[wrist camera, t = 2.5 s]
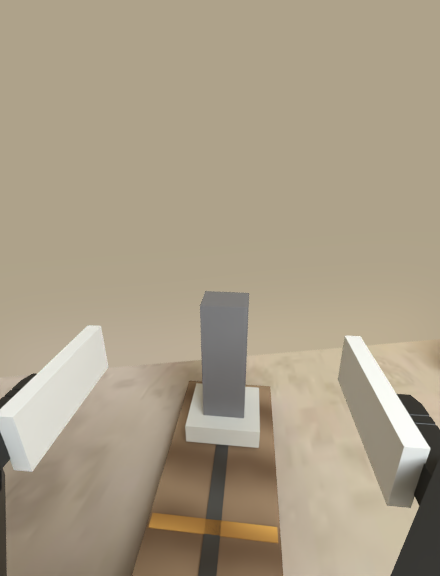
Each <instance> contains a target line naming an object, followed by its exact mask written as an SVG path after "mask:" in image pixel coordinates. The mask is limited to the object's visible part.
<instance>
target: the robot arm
mask: <svg viewBox="0 0 440 576" xmlns="http://www.w3.org/2000/svg"><path fill="white" fill-rule="evenodd" d="M107 368H108V362H107V357H106V352H105V346H104V340H103V336H102V330H101V326H89V325H88V326H87V327H86V328H85V329H84V330H83V331H82V332H80V333H79V334H78V335H77V336H76V338H74V339H73V340H72V341H71V342H70V343H69V344H68V345H67V346H66V347H65V348H64V349H63V350H62V351H61V352H60V353H58V354H57V356H55V357H54V358H53V359H52V360H51V361H50V362H49V363H48V364H47V365H46V366H45V367H44V368H43V369H42V370H41V371H40V372H39V373H38V374H31V375H30V376H28V377H26V378H24V379H23V380H21V381H20V382H19V383H18V384H17V385H16V386H15V387H13V388H12V390H10V391H9V392H8V393H7V394H6V395H5V397H3V398H1V399H0V576H7V574H6V512H5V473H4V470H3V467H4V466H5V464H6V463H7V462H8V461H9V460H10V461H11V463H12V466H13V469H14V470H19V471H29V472H32V471H33V470H34V469H35V467H36V466H37V465H38V463H39V462H40V460H41V459H42V458H43V456H44V455H45V454H46V452H47V451H48V449H49V448H50V447H51V445H52V444H53V443H54V441H55V440H56V438H57V437H58V436H59V434H60V433H61V432H62V430H63V429H64V427H65V426H66V425H67V423H68V422H69V421H70V419H71V418H72V416H73V415H74V414H75V412H76V411H77V410H78V408H79V407H80V405H81V404H82V403H83V401H84V400H85V399H86V397H87V396H88V394H89V393H90V392H91V390H92V389H93V388H94V386H95V385H96V383H97V382H98V381H99V379H100V378H101V377H102V375H103V374H104V372H105V371H106V370H107ZM338 381H339V384H340V386H341V389H342V391H343V394H344V396H345V399H346V402H347V404H348V407H349V409H350V412H351V414H352V417H353V420H354V422H355V425H356V427H357V430H358V432H359V435H360V437H361V440H362V443H363V445H364V448H365V450H366V453H367V455H368V458H369V460H370V463H371V466H372V468H373V471H374V473H375V476H376V478H377V481H378V484H379V486H380V489H381V491H382V494H383V496H384V499H385V501H386V504H387V506H397V507H408V508H411V505H412V502H413V499H414V497H415V498H416V500H417V502H418V504H419V509H418V511H417V513H416V516H415V518H414V521H413V523H412V525H411V528H410V530H409V533H408V535H407V538H406V540H405V542H404V545H403V547H402V550H401V552H400V554H399V557H398V559H397V562H396V564H395V566H394V569H393V571H392V574H391V576H440V429H439V428H438V427H437V426H436V425H435V422H434V421H433V419H432V418H431V417H429V414H428V412H427V411H426V409H425V408H424V407H423V405H422V404H421V403H420V402H418V401H417V400H416V399H415V398H413V397H412V396H411V395H404V394H396V393H395V391H394V389H393V388H392V386H391V385H390V383H389V381H388V380H387V378H386V377H385V375H384V373H383V372H382V370H381V369H380V367H379V365H378V364H377V362H376V361H375V359H374V357H373V356H372V354H371V352H370V351H369V349H368V348H367V346H366V344H365V343H364V341H363V340H362V338H361V337H359V336H345V339H344V345H343V351H342V357H341V363H340V370H339V376H338Z"/></svg>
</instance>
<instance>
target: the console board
mask: <svg viewBox="0 0 440 576" xmlns="http://www.w3.org/2000/svg"><path fill="white" fill-rule="evenodd" d="M196 383H201V384H202V382H198V381H189V384H188V388H187V391H186V394H185V398H184V401H183V404H182V408H181V411H180V415H179V418H178V421H177V425H176V428H175V431H174V435H173V438H172V441H171V445H170V448H169V452H168V455H167V458H166V462H165V465H164V468H163V472H162V475H161V479H160V482H159V485H158V489H157V492H156V495H155V499H154V502H153V505H152V509H151V512H150V516H149V519H148V522H147V526H146V529H145V532H144V536H143V539H142V542H141V546H140V549H139V553H138V556H137V559H136V563H135V566H134V569H133V573H132V576H283V567H282V552H281V537H280V523H279V508H278V494H277V479H276V465H275V450H274V436H273V421H272V406H271V392H270V387H269V386H254V385H245V387H257V388H259V414H260V438H259V448H254V447H243V446H232V445H221V444H210V443H199V442H188V441H186V430H185V425H186V421H187V417H188V414H189V410H190V406H191V402H192V398H193V395H194V391H195V387H196Z"/></svg>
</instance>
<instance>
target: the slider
mask: <svg viewBox="0 0 440 576" xmlns="http://www.w3.org/2000/svg"><path fill="white" fill-rule="evenodd" d="M248 306H249V293H235V292H209V291H205V294H204V297H203V299H202V302H201V305H200V318H201V351H202V384H201V383H196V387H195V391H194V395H193V398H192V402H191V406H190V410H189V414H188V417H187V421H186V425H185V430H186V441H188V442H199V443H210V444H221V445H232V446H243V447H254V448H259V438H260V414H259V388H257V387H245V383H246V357H247V331H248V330H247V329H248Z"/></svg>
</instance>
